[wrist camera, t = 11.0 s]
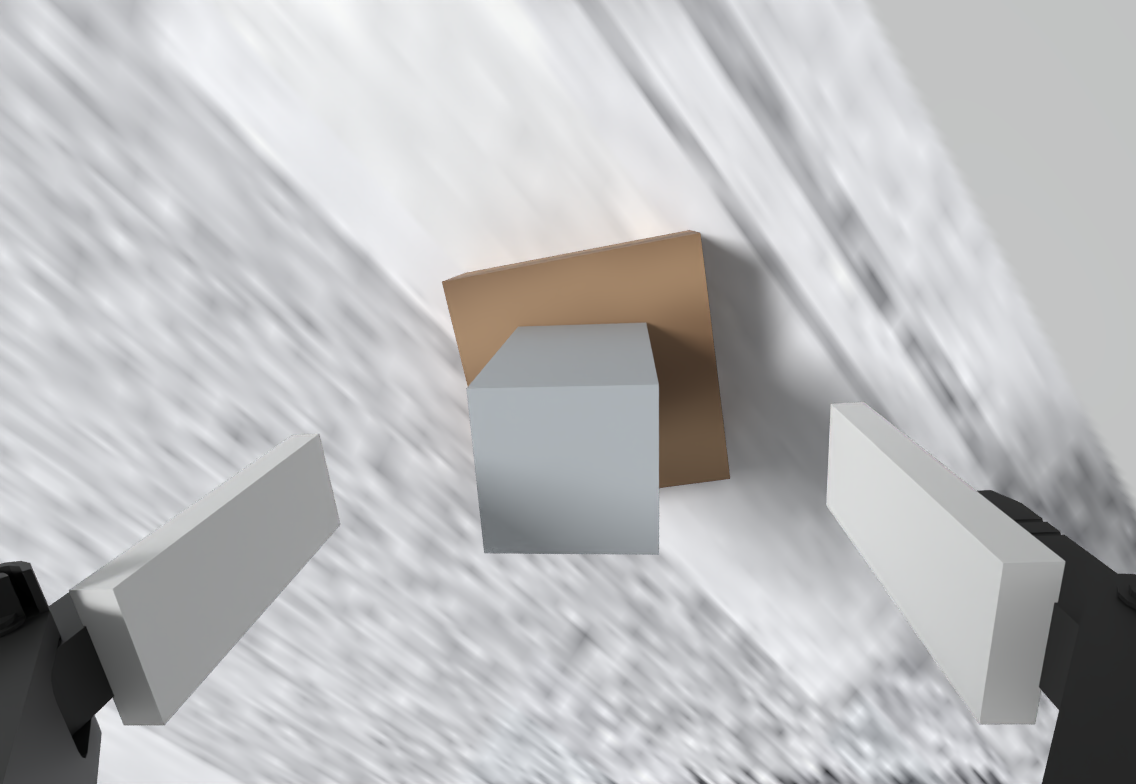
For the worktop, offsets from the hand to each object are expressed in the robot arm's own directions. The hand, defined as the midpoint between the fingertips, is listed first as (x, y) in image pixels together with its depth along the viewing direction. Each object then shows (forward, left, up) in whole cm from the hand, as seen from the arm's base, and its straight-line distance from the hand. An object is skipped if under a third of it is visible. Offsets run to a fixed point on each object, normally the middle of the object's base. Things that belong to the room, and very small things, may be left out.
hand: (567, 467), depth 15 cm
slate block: (0, 0, -9) cm, 9 cm away
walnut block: (0, 0, -13) cm, 13 cm away
